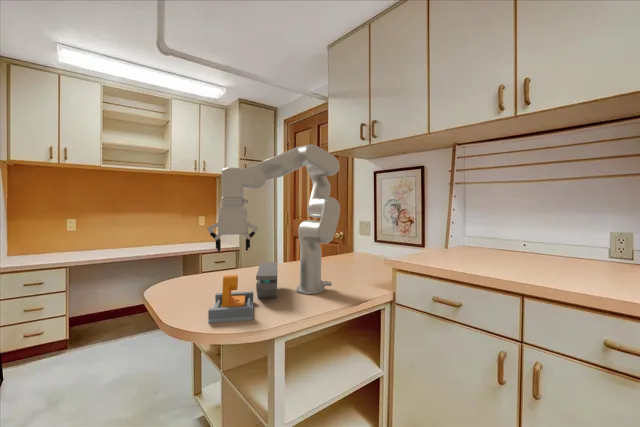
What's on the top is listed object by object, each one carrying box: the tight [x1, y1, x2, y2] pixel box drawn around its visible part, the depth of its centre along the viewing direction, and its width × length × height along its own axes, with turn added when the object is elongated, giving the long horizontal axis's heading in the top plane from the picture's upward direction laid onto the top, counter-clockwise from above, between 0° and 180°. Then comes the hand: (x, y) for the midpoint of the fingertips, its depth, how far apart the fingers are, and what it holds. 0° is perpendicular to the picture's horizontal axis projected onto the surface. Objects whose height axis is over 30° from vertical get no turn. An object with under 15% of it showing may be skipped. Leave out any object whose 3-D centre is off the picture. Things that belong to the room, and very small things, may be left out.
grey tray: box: [207, 290, 254, 324], centre depth 105 cm, size 14×18×4 cm
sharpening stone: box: [255, 262, 278, 299], centre depth 127 cm, size 25×8×11 cm, turn 7°
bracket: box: [221, 274, 245, 307], centre depth 105 cm, size 11×7×12 cm, turn 12°
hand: (233, 250), depth 105 cm, fingers open, 9 cm apart
